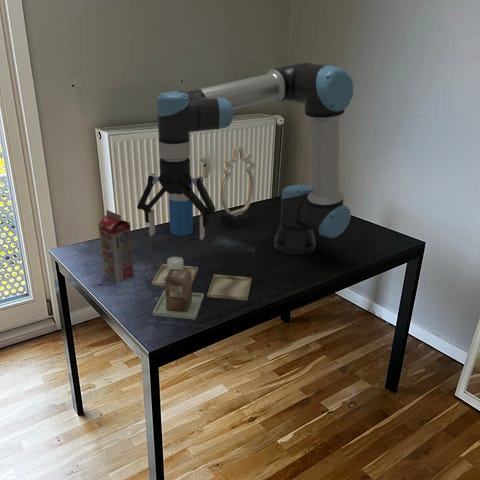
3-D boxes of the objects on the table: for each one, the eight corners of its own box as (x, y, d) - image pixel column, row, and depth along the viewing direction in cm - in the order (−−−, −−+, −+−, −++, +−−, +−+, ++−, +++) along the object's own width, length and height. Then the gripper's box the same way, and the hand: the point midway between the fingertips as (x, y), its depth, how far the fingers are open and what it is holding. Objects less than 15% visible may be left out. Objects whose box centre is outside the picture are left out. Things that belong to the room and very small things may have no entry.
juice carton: (120, 270, 156) (115, 207, 147) (134, 276, 152) (129, 212, 143) (103, 277, 151) (97, 212, 142) (116, 284, 148) (110, 218, 138)
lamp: (244, 215, 203) (246, 141, 190) (258, 221, 197) (262, 145, 184) (213, 224, 193) (213, 147, 179) (227, 231, 187) (229, 152, 173)
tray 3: (251, 282, 151) (251, 277, 150) (247, 302, 140) (247, 297, 140) (214, 278, 152) (214, 274, 152) (207, 298, 142) (207, 293, 141)
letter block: (191, 300, 139) (191, 270, 135) (187, 312, 133) (186, 280, 129) (171, 299, 140) (170, 268, 135) (166, 310, 134) (164, 279, 130)
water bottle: (189, 237, 181) (188, 173, 170) (166, 234, 182) (163, 171, 172) (196, 227, 189) (195, 166, 179) (173, 225, 191) (171, 164, 180)
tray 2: (203, 298, 142) (203, 293, 141) (195, 321, 131) (195, 316, 130) (164, 294, 143) (164, 290, 142) (152, 317, 132) (152, 312, 131)
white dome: (185, 274, 154) (184, 257, 151) (181, 281, 149) (181, 264, 146) (170, 272, 154) (169, 256, 152) (166, 280, 150) (165, 263, 147)
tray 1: (198, 271, 157) (198, 267, 156) (190, 289, 146) (190, 285, 145) (162, 268, 158) (162, 264, 157) (152, 286, 147) (151, 282, 146)
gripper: (226, 156, 121) (225, 233, 130) (131, 151, 123) (136, 226, 132) (221, 164, 114) (221, 244, 123) (120, 158, 116) (127, 237, 125)
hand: (177, 235), depth 127 cm, fingers open, 13 cm apart
